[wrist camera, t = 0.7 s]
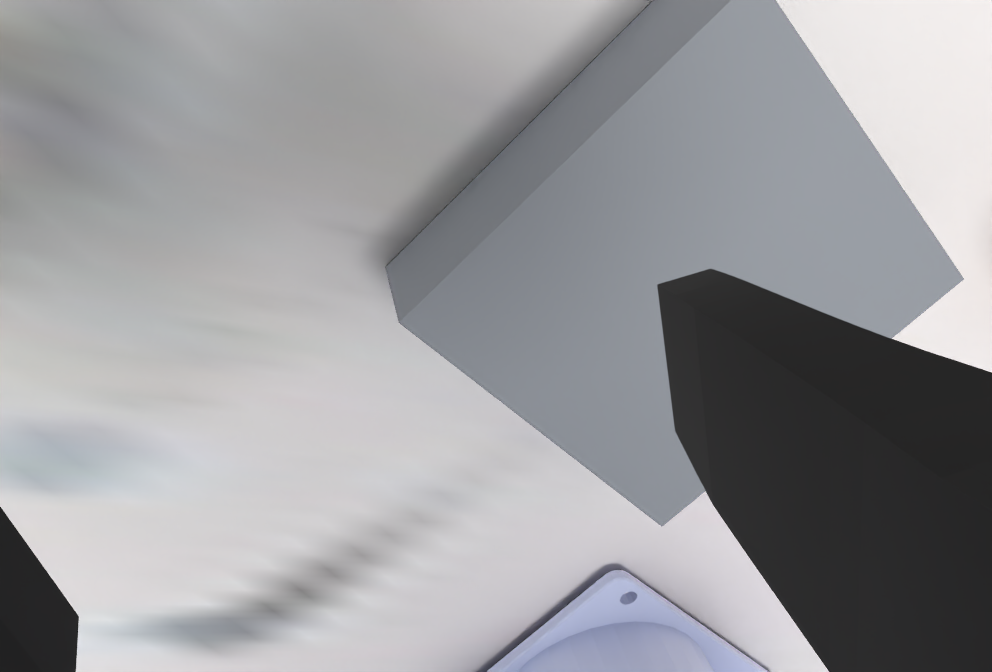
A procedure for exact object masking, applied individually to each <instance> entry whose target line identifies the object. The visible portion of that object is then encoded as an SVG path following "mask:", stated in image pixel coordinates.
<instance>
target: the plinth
mask: <svg viewBox="0 0 992 672" xmlns="http://www.w3.org/2000/svg"><path fill="white" fill-rule="evenodd" d="M385 268H386V272H387V276H388V280H389V284H390V288H391V292H392V296H393V300H394V304H395V308H396V313H397V317H398V321H399V323H400V324H401V325H403V326H404V327H405V328H406V329H408V330H409V331H410V332H412V333H413V334H414V335H415V336H417V337H418V338H419V339H421V340H422V341H423V342H425V343H426V344H427V345H428V346H430V347H431V348H432V349H434V350H435V351H436V352H437V353H439V354H440V355H441V356H443V357H444V358H445V359H446V360H448V361H449V362H450V363H452V364H453V365H454V366H455V367H457V368H458V369H459V370H461V371H462V372H463V373H465V374H466V375H467V376H468V377H470V378H471V379H472V380H474V381H475V382H476V383H477V384H479V385H480V386H481V387H483V388H484V389H485V390H486V391H488V392H489V393H490V394H492V395H493V396H494V397H495V398H497V399H498V400H499V401H501V402H502V403H503V404H505V405H506V406H507V407H508V408H510V409H511V410H512V411H514V412H515V413H516V414H517V415H519V416H520V417H521V418H523V419H524V420H525V421H526V422H528V423H529V424H530V425H532V426H533V427H534V428H535V429H537V430H538V431H539V432H541V433H542V434H543V435H544V436H546V437H547V438H548V439H550V440H551V441H552V442H554V443H555V444H556V445H557V446H559V447H560V448H561V449H563V450H564V451H565V452H566V453H568V454H569V455H570V456H572V457H573V458H574V459H575V460H577V461H578V462H579V463H581V464H582V465H583V466H584V467H586V468H587V469H588V470H590V471H591V472H592V473H594V474H595V475H596V476H597V477H599V478H600V479H601V480H603V481H604V482H605V483H606V484H608V485H609V486H610V487H612V488H613V489H614V490H615V491H617V492H618V493H619V494H621V495H622V496H623V497H624V498H626V499H627V500H628V501H630V502H631V503H632V504H634V505H635V506H636V507H637V508H639V509H640V510H641V511H643V512H644V513H645V514H646V515H648V516H649V517H650V518H652V519H653V520H654V521H655V522H657V523H658V524H659V525H661V526H663V525H664V524H666V523H667V522H668V521H669V520H671V519H672V518H673V517H674V516H675V515H677V514H678V513H679V512H680V511H682V510H683V509H684V508H685V507H686V506H688V505H689V504H690V503H691V502H692V501H694V500H695V499H696V498H697V497H699V496H700V495H701V494H702V493H703V492H705V491H706V490H705V489H704V487H703V485H702V483H701V481H700V479H699V477H698V475H697V474H696V472H695V470H694V468H693V466H692V464H691V462H690V460H689V458H688V456H687V454H686V452H685V450H684V448H683V446H682V444H681V442H680V440H679V438H678V436H677V434H676V432H675V427H674V419H673V411H672V403H671V394H670V386H669V378H668V370H667V362H666V353H665V345H664V337H663V329H662V321H661V313H660V304H659V296H658V288H657V284H660V283H664V282H667V281H670V280H674V279H677V278H680V277H684V276H687V275H691V274H694V273H697V272H701V271H704V270H707V269H714V270H717V271H720V272H723V273H726V274H729V275H731V276H734V277H737V278H739V279H742V280H744V281H747V282H749V283H752V284H754V285H757V286H759V287H762V288H764V289H767V290H769V291H772V292H774V293H777V294H779V295H781V296H784V297H786V298H789V299H791V300H794V301H796V302H799V303H801V304H803V305H806V306H808V307H811V308H813V309H816V310H818V311H821V312H823V313H826V314H828V315H831V316H833V317H836V318H838V319H841V320H843V321H846V322H849V323H851V324H854V325H856V326H859V327H861V328H864V329H867V330H869V331H872V332H875V333H877V334H880V335H883V336H885V337H888V338H893V337H894V336H895V335H896V334H898V333H899V332H900V331H901V330H902V329H904V328H905V327H906V326H907V325H909V324H910V323H911V322H912V321H913V320H915V319H916V318H917V317H918V316H920V315H921V314H922V313H923V312H924V311H926V310H927V309H928V308H929V307H931V306H932V305H933V304H934V303H935V302H937V301H938V300H939V299H940V298H942V297H943V296H944V295H945V294H946V293H948V292H949V291H950V290H951V289H953V288H954V287H955V286H956V285H957V284H959V283H960V282H961V281H962V280H964V278H963V277H962V275H961V274H960V272H959V271H958V269H957V268H956V267H955V265H954V264H953V262H952V261H951V259H950V258H949V256H948V255H947V253H946V252H945V250H944V249H943V247H942V246H941V244H940V243H939V241H938V240H937V238H936V237H935V235H934V234H933V232H932V231H931V230H930V228H929V227H928V225H927V224H926V222H925V221H924V219H923V218H922V216H921V215H920V213H919V212H918V210H917V209H916V207H915V206H914V204H913V203H912V201H911V200H910V198H909V197H908V196H907V194H906V193H905V191H904V190H903V188H902V187H901V185H900V184H899V182H898V181H897V179H896V178H895V176H894V175H893V173H892V172H891V170H890V169H889V167H888V166H887V164H886V163H885V161H884V160H883V159H882V157H881V156H880V154H879V153H878V151H877V150H876V148H875V147H874V145H873V144H872V142H871V141H870V139H869V138H868V136H867V135H866V133H865V132H864V130H863V129H862V127H861V126H860V124H859V123H858V122H857V120H856V119H855V117H854V116H853V114H852V113H851V111H850V110H849V108H848V107H847V105H846V104H845V102H844V101H843V99H842V98H841V96H840V95H839V93H838V92H837V90H836V89H835V88H834V86H833V85H832V83H831V82H830V80H829V79H828V77H827V76H826V74H825V73H824V71H823V70H822V68H821V67H820V65H819V64H818V62H817V61H816V59H815V58H814V56H813V55H812V53H811V52H810V51H809V49H808V48H807V46H806V45H805V43H804V42H803V40H802V39H801V37H800V36H799V34H798V33H797V31H796V30H795V28H794V27H793V25H792V24H791V22H790V21H789V19H788V18H787V17H786V15H785V14H784V12H783V11H782V9H781V8H780V6H779V5H778V3H777V2H776V0H653V1H652V2H651V3H650V4H649V5H648V6H647V7H646V8H645V9H644V10H643V11H642V12H641V13H640V14H639V15H638V16H637V17H636V18H635V19H634V20H633V21H632V22H631V23H630V24H629V25H628V26H627V27H626V28H625V29H624V30H623V31H622V32H621V33H620V34H619V35H618V36H617V37H616V38H615V39H614V40H613V41H612V42H611V43H610V44H609V45H608V46H607V47H606V48H605V49H604V50H603V51H602V52H601V53H600V54H599V55H598V56H597V57H596V58H595V59H594V60H593V61H592V62H591V63H590V64H589V65H588V66H587V67H586V68H585V69H584V70H583V71H582V72H581V73H580V74H579V75H578V76H577V77H576V78H575V79H574V80H573V81H572V82H571V83H570V84H569V85H568V86H567V87H566V88H565V89H564V90H563V91H562V92H561V93H560V94H559V95H558V96H557V97H556V98H555V99H554V100H553V101H552V102H551V103H550V104H549V105H548V106H547V107H546V108H545V109H544V110H543V111H542V112H541V113H540V114H539V115H538V116H537V117H536V118H535V119H534V120H533V121H532V122H531V123H530V124H529V125H528V126H527V127H526V128H525V129H524V130H523V131H522V132H521V133H520V134H519V135H518V136H517V137H516V138H515V139H514V140H513V141H512V142H511V143H510V144H509V145H508V146H507V147H506V148H505V149H504V150H503V151H502V152H501V153H500V154H499V155H498V156H497V157H496V158H495V159H494V160H493V161H492V162H491V163H490V164H489V165H488V166H487V167H486V168H485V169H484V170H483V171H482V172H481V173H480V174H479V175H478V176H477V177H476V178H475V179H474V180H473V181H472V182H471V183H470V184H469V185H468V186H467V187H466V188H464V189H463V190H462V191H461V192H460V193H459V194H458V195H457V196H456V197H455V198H454V199H453V200H452V201H451V202H450V203H449V204H448V205H447V206H446V207H445V208H444V209H443V210H442V211H441V212H440V213H439V214H438V215H437V216H436V217H435V218H434V219H433V220H432V221H431V222H430V223H429V224H428V225H427V226H426V227H425V228H424V229H423V230H422V231H421V232H420V233H419V234H418V235H417V236H416V237H415V238H414V239H413V240H412V241H411V242H410V243H409V244H408V245H407V246H406V247H405V248H404V249H403V250H402V251H401V252H400V253H399V254H398V255H397V256H396V257H395V258H394V259H393V260H392V261H391V262H390V263H389V264H388V265H387V266H386V267H385Z"/></svg>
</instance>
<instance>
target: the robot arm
mask: <svg viewBox="0 0 992 672" xmlns="http://www.w3.org/2000/svg"><path fill="white" fill-rule="evenodd" d="M657 288H658V296H659V304H660V313H661V321H662V329H663V337H664V345H665V353H666V362H667V370H668V378H669V386H670V394H671V403H672V411H673V419H674V427H675V432H676V434H677V436H678V438H679V440H680V442H681V444H682V446H683V448H684V450H685V452H686V454H687V456H688V458H689V460H690V462H691V464H692V466H693V468H694V470H695V472H696V474H697V475H698V477H699V479H700V481H701V483H702V485H703V487H704V489H705V490H706V492H707V494H708V496H709V498H710V500H711V502H712V504H713V505H714V507H715V508H716V510H717V511H718V513H719V514H720V516H721V517H722V519H723V520H724V522H725V523H726V524H727V526H728V527H729V529H730V530H731V532H732V533H733V535H734V536H735V537H736V539H737V540H738V542H739V543H740V545H741V546H742V548H743V549H744V551H745V552H746V553H747V555H748V556H749V558H750V559H751V561H752V562H753V564H754V565H755V566H756V568H757V569H758V571H759V572H760V574H761V575H762V576H763V578H764V579H765V581H766V582H767V584H768V585H769V586H770V588H771V589H772V591H773V592H774V593H775V595H776V596H777V598H778V599H779V601H780V602H781V603H782V605H783V606H784V608H785V609H786V611H787V612H788V613H789V615H790V616H791V618H792V619H793V621H794V622H795V623H796V625H797V626H798V628H799V629H800V631H801V632H802V633H803V635H804V636H805V638H806V639H807V641H808V642H809V643H810V645H811V646H812V648H813V649H814V651H815V652H816V653H817V655H818V656H819V658H820V659H821V661H822V662H823V663H824V665H825V666H826V668H827V669H828V671H829V672H992V373H991V372H988V371H985V370H982V369H979V368H976V367H973V366H970V365H967V364H964V363H961V362H958V361H955V360H952V359H949V358H946V357H942V356H939V355H936V354H933V353H930V352H927V351H924V350H921V349H919V348H916V347H913V346H910V345H907V344H905V343H902V342H899V341H896V340H894V339H891V338H888V337H885V336H883V335H880V334H877V333H875V332H872V331H869V330H867V329H864V328H861V327H859V326H856V325H854V324H851V323H849V322H846V321H843V320H841V319H838V318H836V317H833V316H831V315H828V314H826V313H823V312H821V311H818V310H816V309H813V308H811V307H808V306H806V305H803V304H801V303H799V302H796V301H794V300H791V299H789V298H786V297H784V296H781V295H779V294H777V293H774V292H772V291H769V290H767V289H764V288H762V287H759V286H757V285H754V284H752V283H749V282H747V281H744V280H742V279H739V278H737V277H734V276H731V275H729V274H726V273H723V272H720V271H717V270H714V269H707V270H704V271H701V272H697V273H694V274H691V275H687V276H684V277H680V278H677V279H674V280H670V281H667V282H664V283H660V284H657ZM627 592H628V593H627ZM625 593H626V594H625ZM78 620H79V616H78V615H77V613H76V612H75V611H74V609H73V608H72V606H71V605H70V604H69V602H68V601H67V599H66V598H65V597H64V595H63V594H62V592H61V591H60V590H59V588H58V587H57V585H56V584H55V583H54V581H53V580H52V578H51V577H50V576H49V574H48V573H47V571H46V570H45V569H44V567H43V566H42V564H41V563H40V562H39V560H38V559H37V557H36V556H35V555H34V553H33V552H32V550H31V549H30V548H29V546H28V545H27V543H26V542H25V541H24V539H23V538H22V536H21V535H20V534H19V532H18V531H17V529H16V528H15V527H14V525H13V524H12V522H11V521H10V520H9V518H8V517H7V515H6V514H5V513H4V511H3V510H2V509H1V507H0V672H75V671H76V656H77V638H78ZM486 672H768V671H767V670H766V669H764V668H763V667H761V666H760V665H759V664H757V663H756V662H754V661H753V660H751V659H750V658H749V657H747V656H746V655H744V654H743V653H741V652H740V651H739V650H737V649H736V648H734V647H733V646H732V645H730V644H729V643H727V642H726V641H724V640H723V639H722V638H720V637H719V636H717V635H716V634H715V633H713V632H712V631H710V630H709V629H707V628H706V627H705V626H703V625H702V624H700V623H699V622H697V621H696V620H695V619H693V618H692V617H690V616H689V615H688V614H686V613H685V612H683V611H682V610H680V609H679V608H678V607H676V606H675V605H673V604H672V603H670V602H669V601H668V600H666V599H665V598H663V597H662V596H661V595H659V594H658V593H656V592H655V591H653V590H652V589H651V588H649V587H648V586H646V585H645V584H644V583H642V582H641V581H639V580H638V579H636V578H635V577H634V576H632V575H631V574H629V573H628V572H626V571H623V570H614V571H610V572H608V573H607V574H605V575H604V576H603V577H601V578H600V579H599V580H598V581H596V582H595V583H594V584H593V585H592V586H590V587H589V588H588V589H587V590H585V591H584V592H583V593H582V594H581V595H579V596H578V597H577V598H576V599H574V600H573V601H572V602H571V603H570V604H568V605H567V606H566V607H565V608H563V609H562V610H561V611H560V612H559V613H557V614H556V615H555V616H554V617H552V618H551V619H550V620H549V621H548V622H546V623H545V624H544V625H543V626H541V627H540V628H539V629H538V630H537V631H535V632H534V633H533V634H532V635H530V636H529V637H528V638H527V639H526V640H524V641H523V642H522V643H521V644H519V645H518V646H517V647H516V648H515V649H513V650H512V651H511V652H510V653H508V654H507V655H506V656H505V657H504V658H502V659H501V660H500V661H499V662H497V663H496V664H495V665H494V666H493V667H491V668H490V669H489V670H488V671H486Z"/></svg>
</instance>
